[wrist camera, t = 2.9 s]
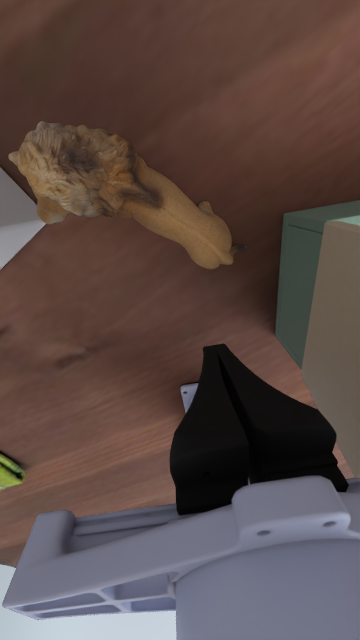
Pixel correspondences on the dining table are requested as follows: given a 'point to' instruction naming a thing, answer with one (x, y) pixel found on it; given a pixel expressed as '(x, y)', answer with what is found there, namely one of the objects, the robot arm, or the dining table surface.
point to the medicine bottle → (15, 218)
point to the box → (303, 270)
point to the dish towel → (10, 473)
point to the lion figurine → (116, 189)
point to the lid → (337, 338)
